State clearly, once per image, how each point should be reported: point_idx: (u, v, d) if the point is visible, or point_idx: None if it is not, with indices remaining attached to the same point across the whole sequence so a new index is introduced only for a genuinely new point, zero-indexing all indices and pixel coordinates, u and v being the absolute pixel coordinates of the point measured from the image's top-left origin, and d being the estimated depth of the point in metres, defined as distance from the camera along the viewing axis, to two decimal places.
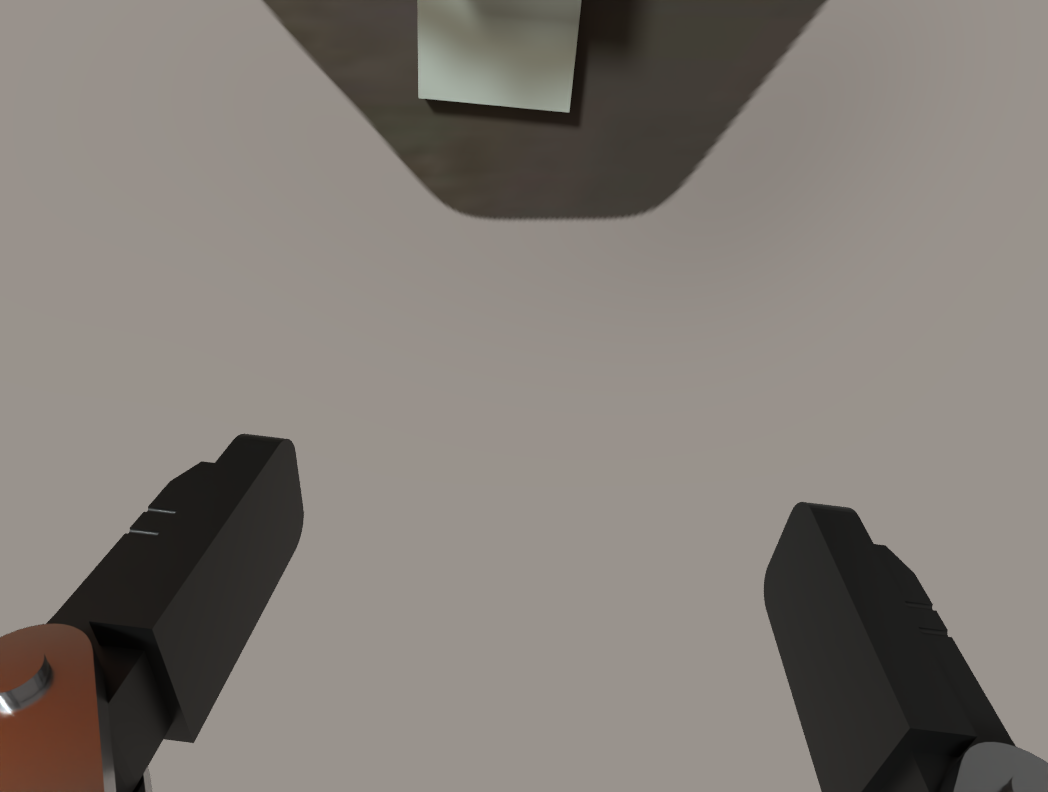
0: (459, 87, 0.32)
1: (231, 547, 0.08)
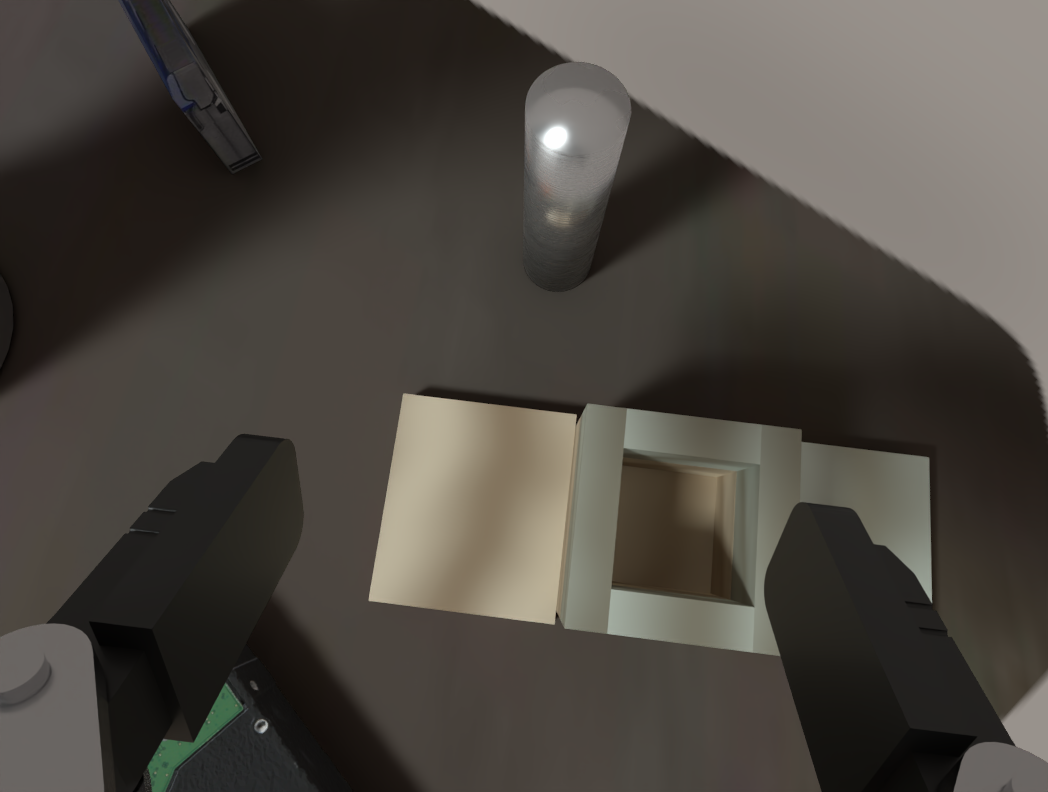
0: None
1: (230, 547, 0.08)
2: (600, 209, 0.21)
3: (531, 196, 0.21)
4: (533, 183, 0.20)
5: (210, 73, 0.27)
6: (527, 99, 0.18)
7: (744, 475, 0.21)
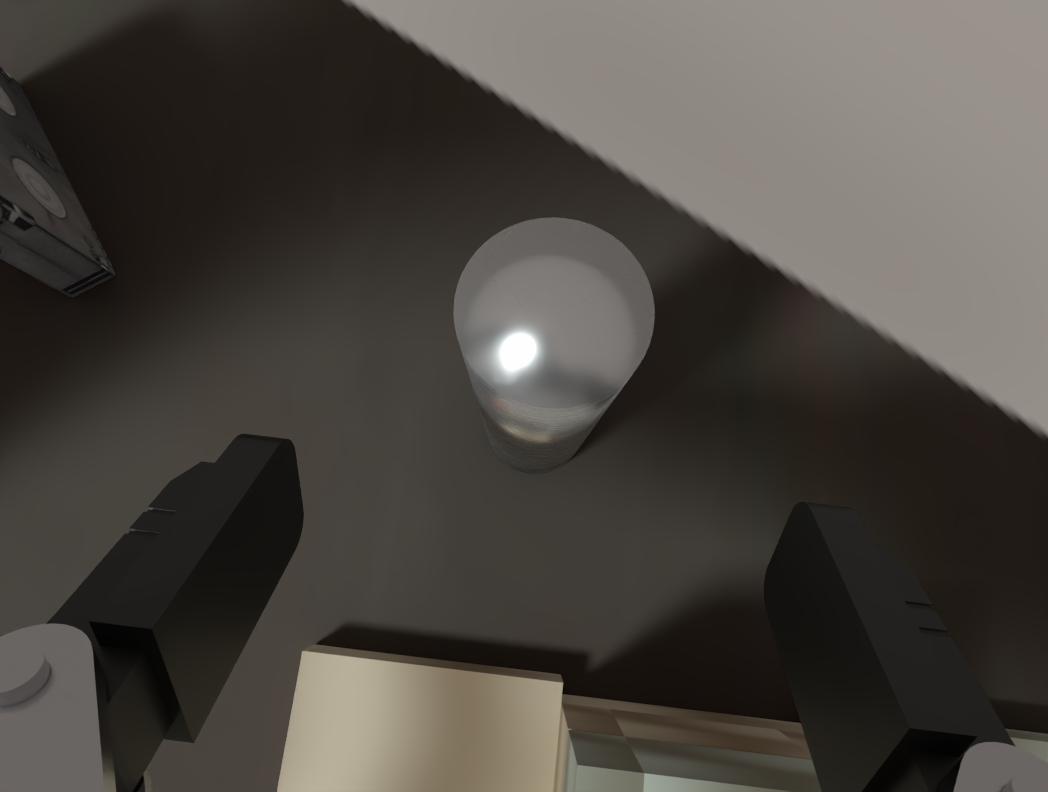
0: None
1: (231, 547, 0.08)
2: (597, 422, 0.13)
3: (482, 408, 0.12)
4: (481, 401, 0.11)
5: (29, 159, 0.19)
6: (458, 292, 0.09)
7: None
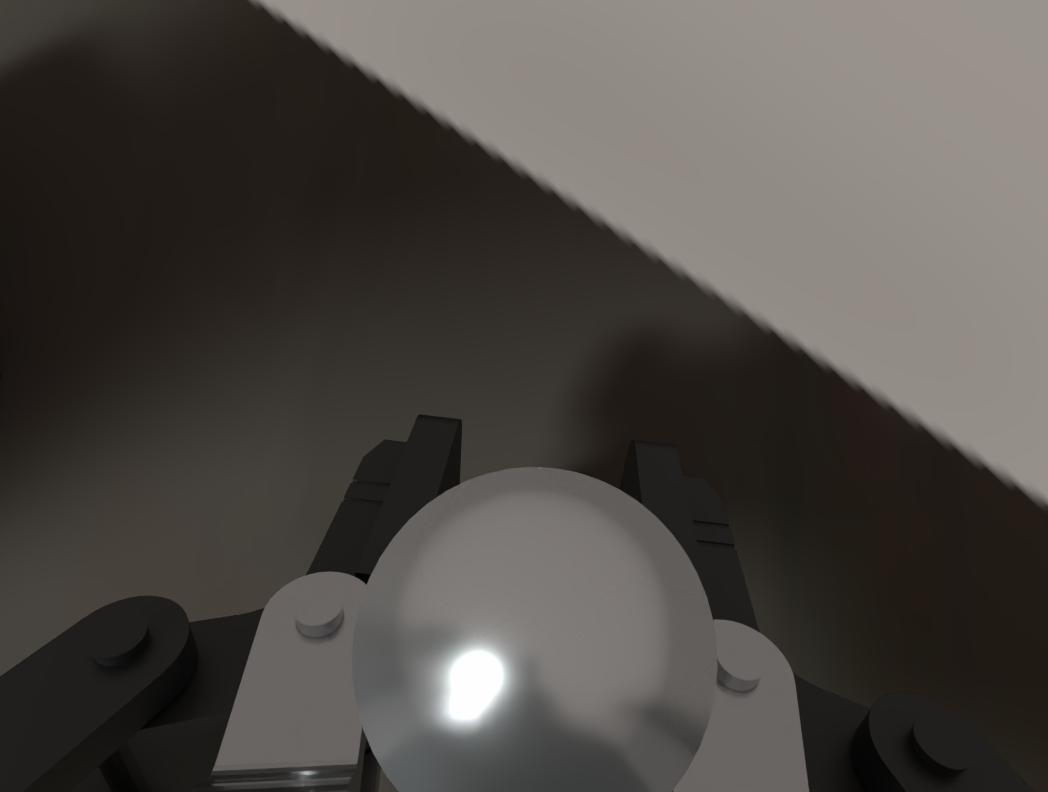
0: None
1: None
2: None
3: None
4: None
5: None
6: (363, 613, 0.05)
7: None
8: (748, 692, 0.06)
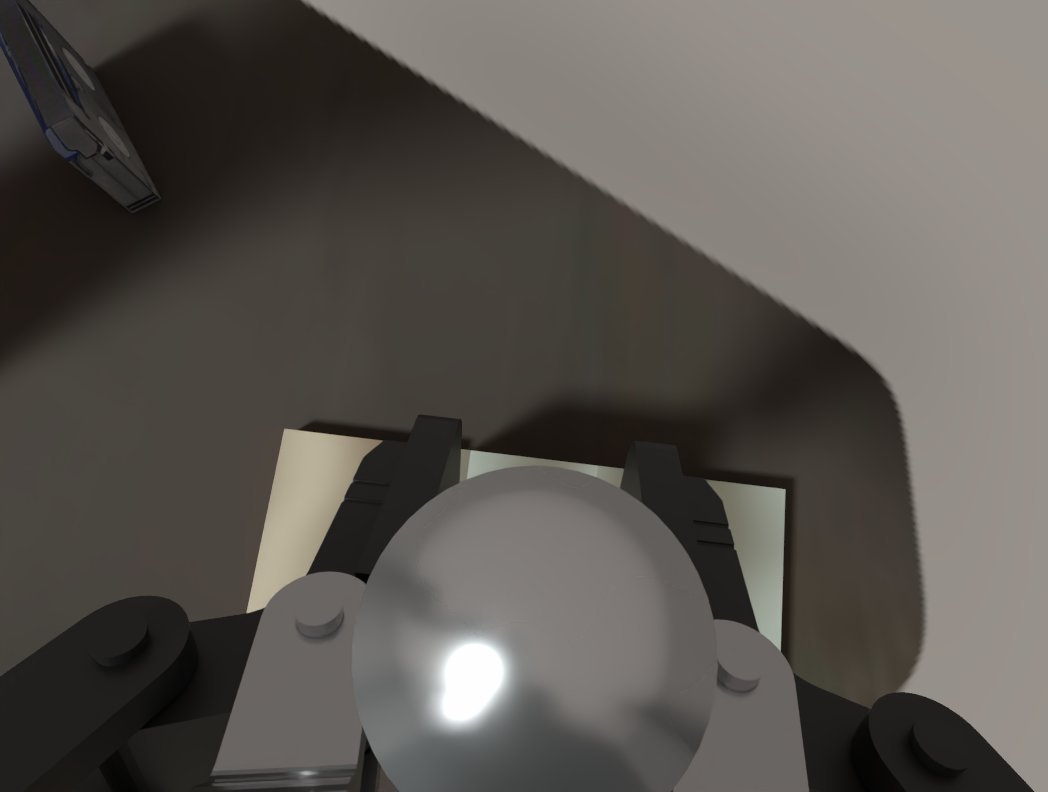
0: None
1: None
2: None
3: None
4: None
5: (106, 118, 0.28)
6: (362, 612, 0.05)
7: None
8: (748, 692, 0.06)
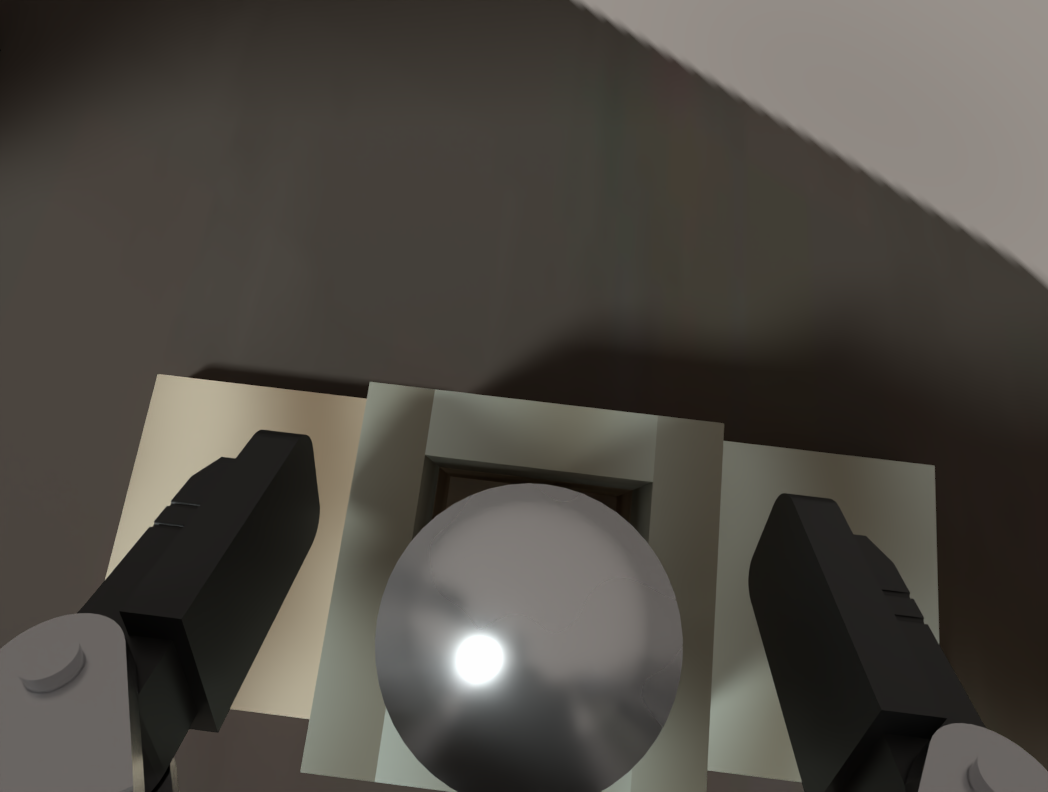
0: None
1: (253, 541, 0.08)
2: None
3: None
4: None
5: None
6: (383, 607, 0.06)
7: (638, 497, 0.13)
8: None
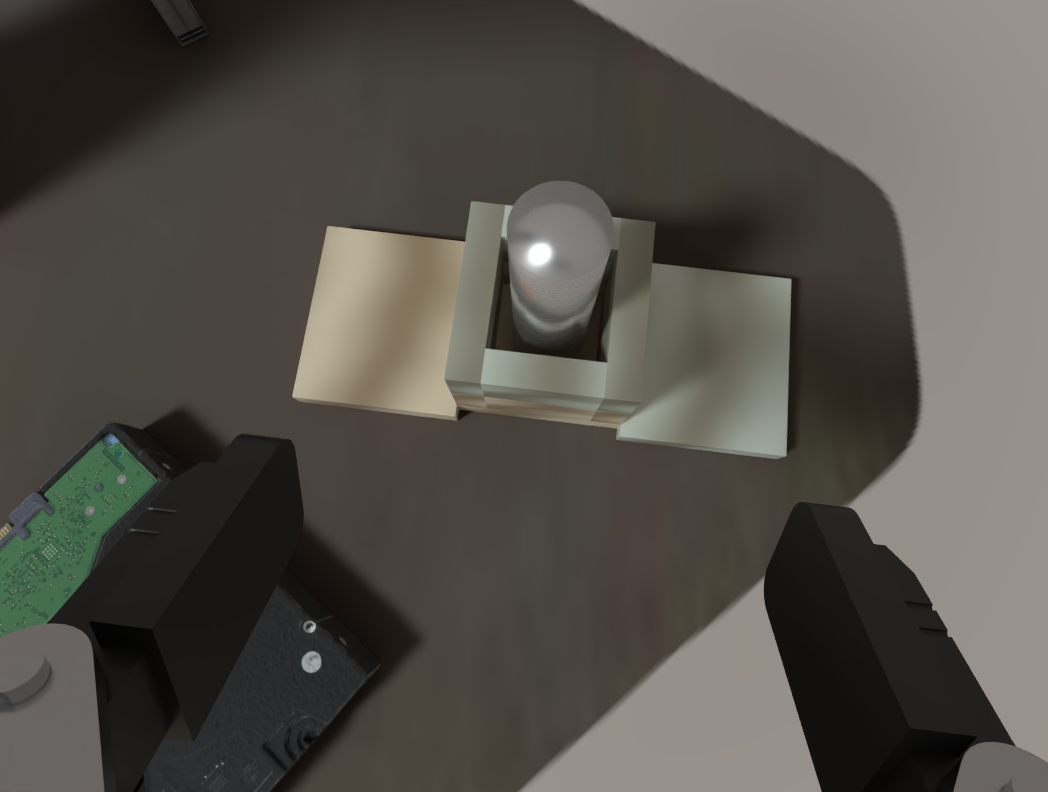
0: (771, 404, 0.27)
1: (231, 547, 0.08)
2: (587, 311, 0.21)
3: (517, 301, 0.20)
4: (517, 292, 0.20)
5: None
6: (509, 220, 0.17)
7: (612, 271, 0.25)
8: None
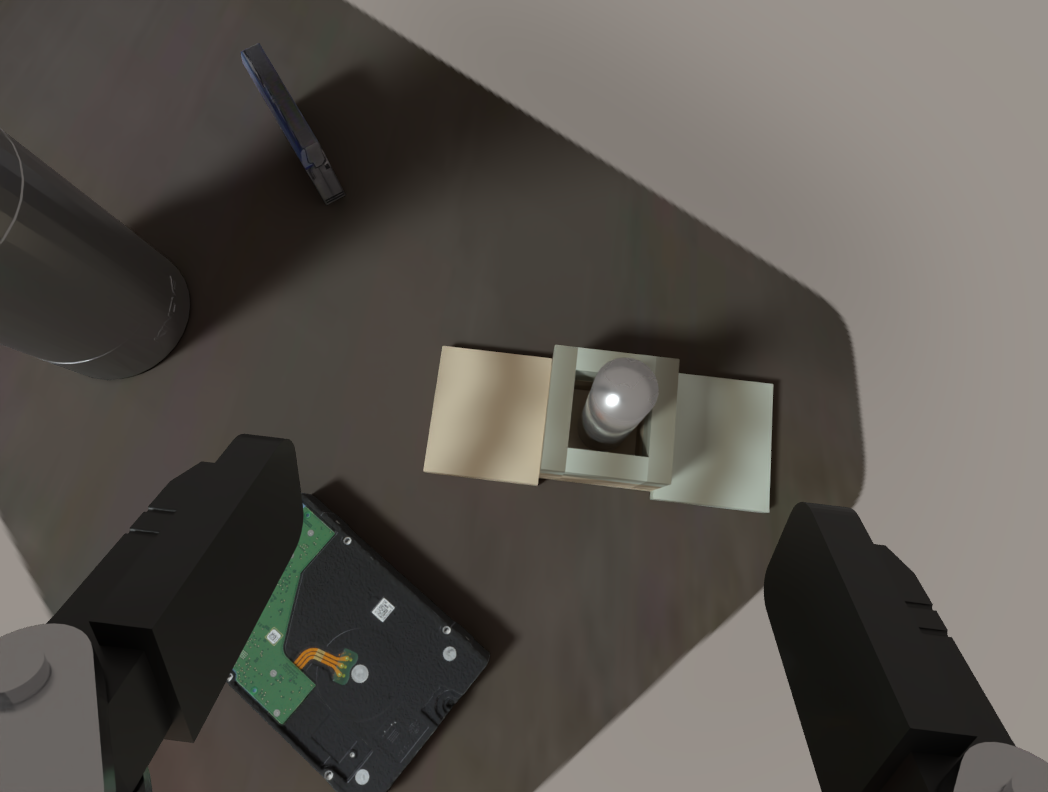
0: (758, 475, 0.38)
1: (230, 547, 0.08)
2: None
3: (592, 420, 0.32)
4: (594, 417, 0.31)
5: None
6: (594, 382, 0.29)
7: None
8: None
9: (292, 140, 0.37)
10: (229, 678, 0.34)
